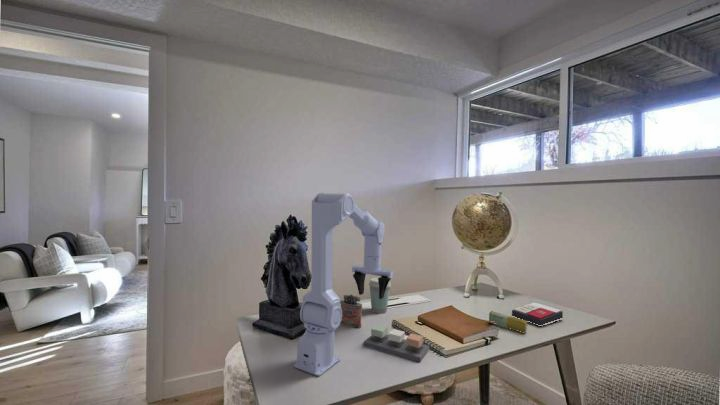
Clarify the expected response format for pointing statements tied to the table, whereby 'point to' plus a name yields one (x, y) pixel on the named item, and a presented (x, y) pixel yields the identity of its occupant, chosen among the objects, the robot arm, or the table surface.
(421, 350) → the dark grey base plate
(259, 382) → the table surface
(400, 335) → the key ivory
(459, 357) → the table surface
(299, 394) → the table surface
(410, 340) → the key terracotta
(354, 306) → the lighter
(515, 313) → the white and crimson box
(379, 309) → the coffee cup
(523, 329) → the medication box
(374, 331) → the key sage
